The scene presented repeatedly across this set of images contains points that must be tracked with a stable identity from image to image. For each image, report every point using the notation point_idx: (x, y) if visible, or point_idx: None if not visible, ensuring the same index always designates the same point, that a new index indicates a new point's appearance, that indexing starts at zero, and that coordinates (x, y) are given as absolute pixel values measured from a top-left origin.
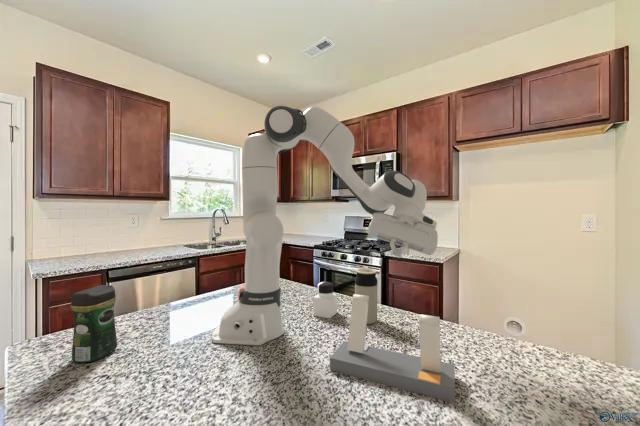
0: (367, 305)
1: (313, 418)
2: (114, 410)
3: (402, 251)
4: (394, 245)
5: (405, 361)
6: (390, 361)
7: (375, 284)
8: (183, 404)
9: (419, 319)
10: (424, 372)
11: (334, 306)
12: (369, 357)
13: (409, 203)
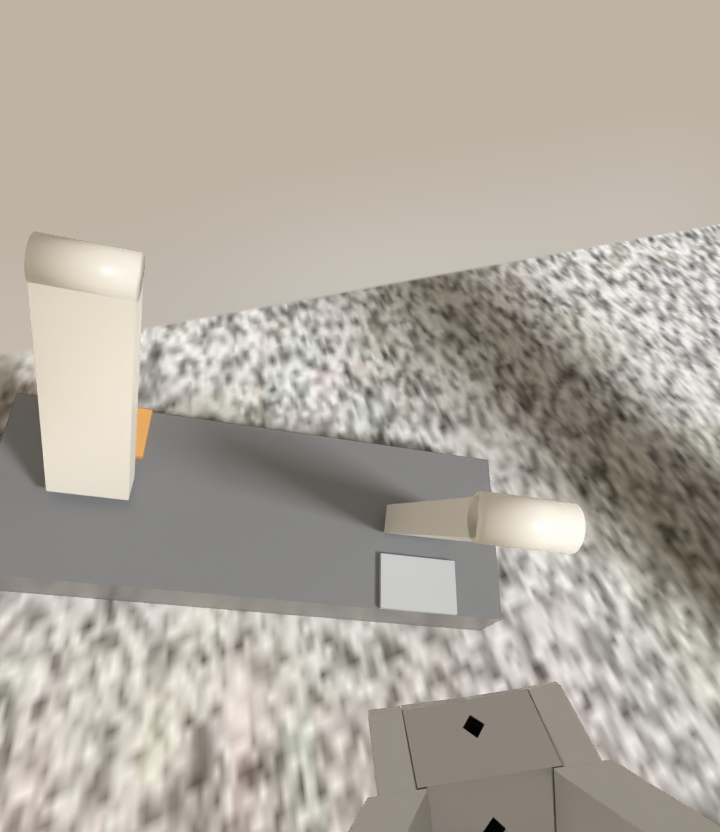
0: (462, 516)
1: (413, 285)
2: None
3: (376, 753)
4: (596, 788)
5: (200, 523)
6: (264, 503)
7: None
8: (673, 272)
9: (143, 257)
10: None
11: None
12: (352, 509)
13: None
